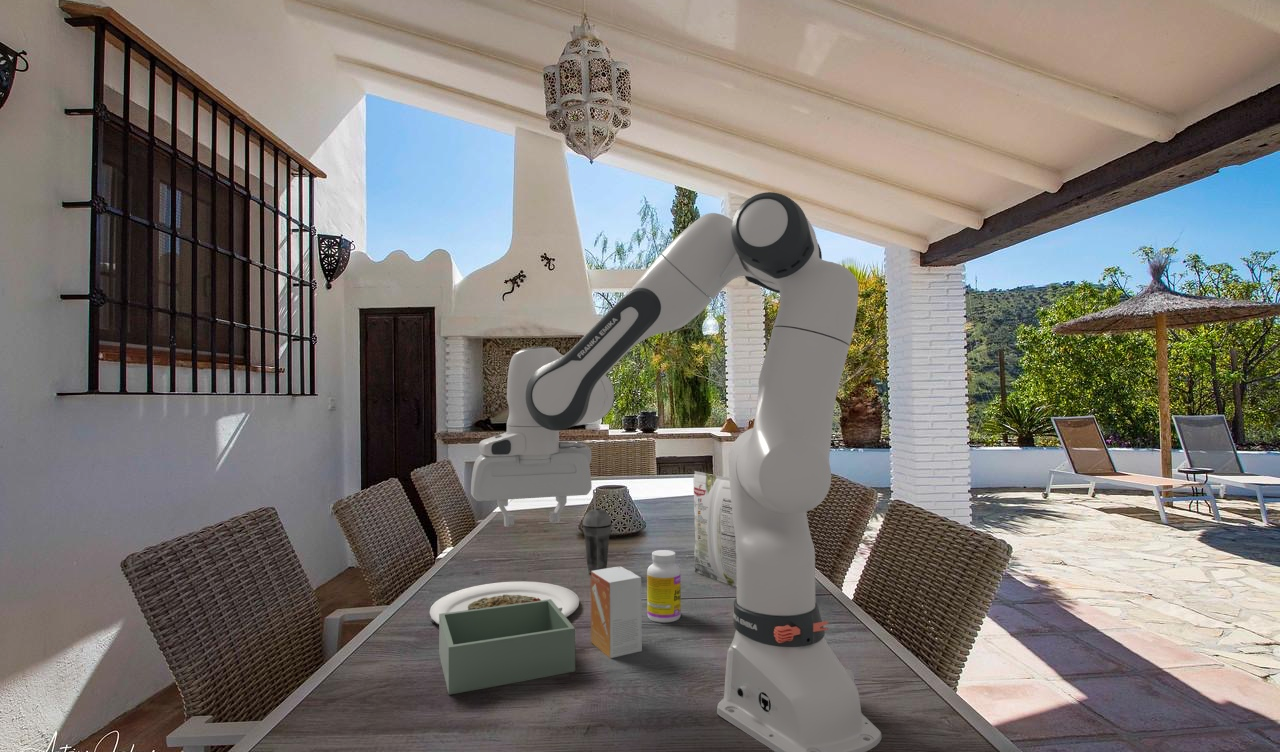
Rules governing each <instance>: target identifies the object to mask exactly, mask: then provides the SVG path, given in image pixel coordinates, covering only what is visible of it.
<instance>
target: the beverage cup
mask: <svg viewBox="0 0 1280 752" xmlns="http://www.w3.org/2000/svg"><path fill="white" fill-rule="evenodd" d="M592 496H593V499H592V500H593V508H592V509H590V510H588V512H587V513H586V514H585V515H584V517H583V519H582V525H581V526H582V531H583V535H584V543H585V545H584V546H585V554H586V555H585V556H586V558H585V559H586V566H587V573H589V574H591V571H594V570H600V569H606V568H608V557H609V556H608V555H609V545H610V543H609V542H610V533H611V529H612V528H611V527H612V522H611V517H610V515H609V513H608V512H607V511H606V510H604V509H603V508H597V500H596V491H595V490H594V491H592Z"/></svg>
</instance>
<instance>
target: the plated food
mask: <svg viewBox="0 0 1280 752" xmlns="http://www.w3.org/2000/svg"><path fill="white" fill-rule="evenodd" d="M548 599H551V600H552V601H553V602H554V604H555V605H556V606H557V607H558V608H559V609H561V610H560V611H561V612H562V613H563V614H564V616H565V617H566V618H568V617H569V616H570V615H572V614H573V613H574V612H576V610H577V609H578V608H579V604H580V598H579V596H578V595H577V594H576V593H575V592H574V591H573V590H571V589H569V588H567V587H565V586H561V585H558V584H552V583H547V582H541V581H540V582H539V581H523V580H522V581H521V580H520V581H501V582H494V583H493V582H492V583H485V584H480V585H474V586H471V587H470V586H469V587H466V588H463V589H460V590H456V591H453V592H451V593H450V592H449V593H448V594H447V595H444V596H442V597H440V598H439V599H437V600H436V601H435V602H433V604H432V605H431V607H430V609H429V617H430V618H431V620H432V621H433V622H435V624H437V625H439V614H442V613H450V612H457V611H465V610H473V609H480V608H488V607H495V606H503V605H510V604H518V603H526V602H533V601H541V600H548Z"/></svg>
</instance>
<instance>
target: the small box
mask: <svg viewBox="0 0 1280 752" xmlns="http://www.w3.org/2000/svg"><path fill="white" fill-rule="evenodd" d="M642 599H643V598H642V577H641V576H640V575H638V574H636V573H634V572H633V571H632V570H629V569H626V568H625V567H623V566H613V567H607V568H606V569H600V570H594V571H591V573H590V643H591V644H592V645H594V646H595V647H596V648H597V649H599V650H600V651H601V652H602V653H603V654H604V655H606V657H608V658H609V659H613V658H617V657H621V656H626V655H630V654H634V653H638V652H639V653H640V652H642V651H643V641H642V639H643V635H642V633H643V631H642V630H643V629H642V628H643V626H642V625H643V624H642V623H643V621H642V620H643V619H642V617H643V615H642V614H643V613H642V612H643V611H642V610H643V609H642V601H643V600H642Z"/></svg>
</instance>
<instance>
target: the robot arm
mask: <svg viewBox="0 0 1280 752" xmlns="http://www.w3.org/2000/svg"><path fill="white" fill-rule="evenodd" d="M740 277H745V280H746V281H748V282H749V283H752V284H754V285H757V286H759V287H761V288H763V289H766V290H768V291H771V292H774V293H775V294H776V293H777V294H779V307H778V311H777V314H776V318H775V321H774V323H773V327H772V331H771V334H770V337H769V342H768V346H767V348H766V353H765V356H764V358H763V359H764V360H763V362H762V366H761V370H760V373H759V376H758V390H757V391H758V393H757V402H756V406H755V407H756V408H755V409H756V410H755V417H754V421H753V427H751V428H749V429H747V430H746V431H744V432H743V433H741V434H740V435H739V436H738V437H737V438H736V439H735V440H734V442H733V443H732V445H731V447H730V450H729V453H728V473H729V478H730V491H731V503H732V513H733V523H734V531H735V540H736V584H737V587H736V598H734V600H733V607H732V618H733V627H734V629H735V633H734V636H733V639H732V642H731V644H730V646H729V648H728V649H727V652H726V654H727V655H726V661H725V662H726V664H725V674H724V675H725V677H724V679H725V680H724V688H723V689H724V690H723V691H724V692H723V698H722V699H721V700H720V701H719V702H718V704H716V705H717V706H716V714H717V715H718V716H719V717H720V718H722V719H723V720H725V721H727V722H728V723H730V724H732V725H733V726H734V727H736V728H738V729H739V730H741V731H742V732H743V733H745V734H747V735H748V736H750V737H752V738H753V739H755V740H756V741H757V742H760V744H763V745H764V746H766V747H767V748H769V749H770V750H772V751H773V752H868V751H869V750H872V749H873V748H875V747H877V745H878V744H879V743H880V742H881V740H882V739H883V738H882V737H883V735H882V732H881V730H879V728H877V727H876V725H874V723H872V721H870V720H869V719H868V718H867V717H866V716H865V715H864V714H863V713H862V708H861V699H860V694H859V689H858V687H857V685H856V683H855V676H854V673H853V670H851V669H849V668H845V667H844V665H843V664H842V663H841V661H840V660H839V658H838V657H837V656H836V655H837V654H835V652H834V651H833V650H832V648H831V646H830V645H829V644H828V641H827V640H826V638H825V635H826V632H825V631H827V630H829V628H828V627H825V626H826V625H828V624H829V621H828V620H827V621H823V620H822V614H821V613H820V608H819V605H818V604H817V602H816V550H815V546H814V542H813V538H812V535H811V530H810V527H809V521H808V515H807V512H809V511H812V510H814V509H815V508H816V507H818V506H819V505H821V503H822V502H823V501H824V500H825V499H826V497H827V496H828V493H829V491H830V488H831V483H832V469H831V465H830V453H831V452H830V451H831V444H832V433H833V421H834V413H835V405H836V404H835V403H836V398H837V394H838V389H839V387H840V382H841V380H842V376H843V372H844V368H845V364H846V360H847V356H848V354H849V350H850V346H851V343H852V339H853V335H854V330H855V324H856V320H857V319H856V317H857V311H858V302H859V282H858V280H857V277H856V276H855V275H854V273H852V271H850V269H848V268H846V267H845V266H843V265H841V264H838V263H836V262H833V261H827V260H823V257H822V249H821V246H820V244H819V243H818V239H817V236H816V232H815V229H814V228H813V225H812V224H811V222H810V221H809V219H808V218H807V215H806V213H805V212H804V210H803V209H802V207H801V206H800V205H799V204H798V203H797V202H796V201H794V200H793V199H792V198H790V197H788V196H786V195H784V194H782V193H778V192H774V191H773V192H772V191H768V192H761V193H758V194H755V195H753V196H751V197H749V198H748V199H747V200H745V201H744V202H743V203H742V204H741V205H740V206H739V207H738V209H737V210H736V211H735V214H734V215H733V218H732V219H731V218H730V217H728V216H726V215H724V214H721V213H716V212H709V213H706V214H703V215H702V216H700V217H699V218H697V219H696V220H695V221H694V222H692V223H691V224H690V225H688V226H687V227H686V228H685V229H684V230H683V231H682V232H680V233H679V234H678V235H677V236H676V237H675V238H674V239H673V240H672V241H671V242H670V243H669V244H668V245H667V246H666V247H665V248H664V250H662V252H661V253H660V254H659V255H658V256H657V258H656V259H655V260H654V261H653V262H652V263H651V265H649V266H648V268H647V269H646V270H645V271H644V273H643V274H642V275H641V276H640V278H639V279H638V280H637V281H636V283H634V285H633V286H632V287H631V288H630V289H629V290H628V291H627V292H626V293H625V294H624V296H623V297H621V299H620V300H619V301H618V302H617V303H616V304H614V306H612V307H611V308H610V309H609V310H608V311H607V312H606V313H605V314H604V316H602V317H601V318H600V319H599V320H598V321H597V322H596V324H595V325H594V326H592V328H590V330H589V331H587V332H586V333H585V334H584V335H583V336H582V338H581V339H579V341H578V342H576V344H575V345H574V346H572V348H571V349H569V351H567V352H566V353H565V354H564V355H563V354H562V353H560V352H559V351H558V350H557V349H556V348H555V347H554V346H553V347H552V346H547V345H546V346H545V345H543V346H541V345H540V346H531V347H526V348H523V349H519V350H518V351H516V352H515V353H514V354H513V355H512V356H511V359H510V362H509V365H508V371H507V383H506V384H507V385H506V401H507V405H508V418H507V421H506V432H502V433H499V434H497V435H493V436H491V437H487V438H485V439H482V440H480V442H479V443H478V450H479V453H481V454H480V455H479V456H477V457H476V459H475V461H474V463H473V467H472V473H471V481H470V494H471V497H472V498H473V499H474V500H475V501H476V502H486V501H487V502H490V501H491V502H492V501H497V504H496V505H497V507H498V508H499V510H500V512H501V513H502V515H503V526H504V527H507V528H508V527H515V520H516V519H515V518H516V517H515V516H516V515H514V514H513V513H509V512H508V510H507V509H506V507H508V506H509V500H521V499H523V500H524V499H539V498H555V501H556V502H557V503H556V506H555V508H554V510H552V511H548V512H549V513H548V514H549V516H548V517H549V518H548V520H549V523H550V524H560V522H561V514H562V511H563V509H564V508H565V506H566V504H567V503H568V502H567V497H572V496H573V497H574V496H587V495H588V494H589V493H590V492H591V490H592V474H591V467H590V464H591V462H592V449H591V447H590V446H589V445H588V444H586V443H584V441H581V440H579V441H577V440H576V441H560V431H564V430H566V429H569V428H572V427H575V426H582V425H586V424H587V425H588V424H592V423H595V422H597V421H599V420H601V419H603V418H604V417H606V416H607V415H608V414H609V413H610V411H611V410H612V408H613V406H614V402H615V389H614V388H615V387H614V385H613V383H612V381H611V379H610V378H609V376H608V375H607V373H609V372H610V371H611V370H612V369H613V367H615V365H616V364H618V363H619V362H620V360H621V359H623V357H624V356H625V355H626V354H627V353H628V352H629V351H630V350H631V349H633V348H634V347H635V346H636V345H638V344H639V343H641V342H642V341H644V340H646V339H648V338H651V337H654V336H656V335H660V334H663V333H666V332H670V331H675V330H676V331H677V330H679V329H681V328H683V327H684V326H685V325H688V324H689V323H690V322H691V321H692V320H694V319H695V318H696V317H697V316H698V315H700V314H701V313H702V312H703V311H704V310H705V309H706V308H707V307H708V306H709V305H710V304H711V302H712V301H713V300H714V299H715V298H716V297H717V296H718V295H719V294H720V292H721V291H722V290H723V289H724V288H725V287H726V286H728V284H729V283H731V282H732V281H733V280H735V279H738V278H740Z"/></svg>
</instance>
